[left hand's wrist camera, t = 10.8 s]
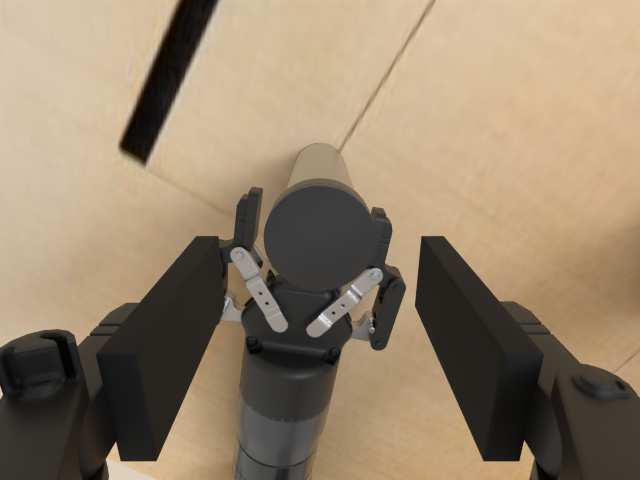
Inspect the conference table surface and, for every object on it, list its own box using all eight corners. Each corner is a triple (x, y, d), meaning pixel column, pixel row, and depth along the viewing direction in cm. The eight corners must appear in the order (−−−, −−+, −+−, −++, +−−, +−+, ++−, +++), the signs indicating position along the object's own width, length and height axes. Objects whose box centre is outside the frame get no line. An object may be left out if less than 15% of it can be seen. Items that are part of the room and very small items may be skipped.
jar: (337, 198, 34) (352, 288, 18) (290, 186, 33) (264, 269, 18) (350, 149, 32) (379, 203, 17) (301, 137, 32) (283, 180, 17)
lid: (356, 285, 19) (359, 301, 18) (259, 263, 19) (254, 278, 18) (384, 191, 18) (390, 201, 16) (280, 166, 17) (276, 173, 16)
